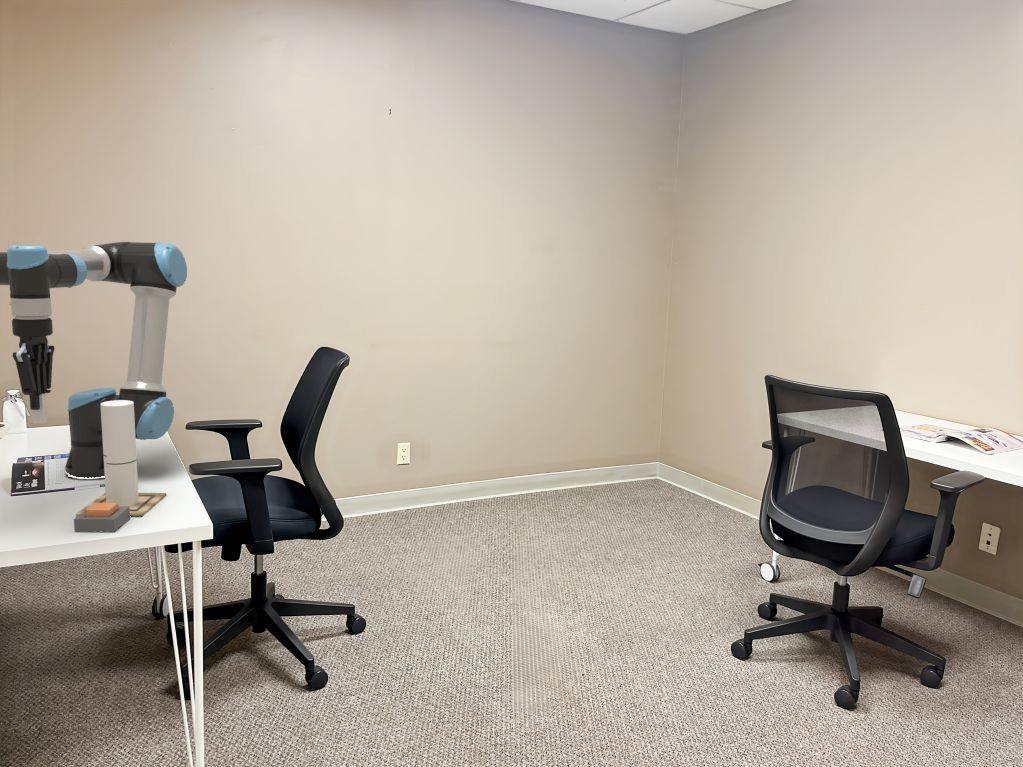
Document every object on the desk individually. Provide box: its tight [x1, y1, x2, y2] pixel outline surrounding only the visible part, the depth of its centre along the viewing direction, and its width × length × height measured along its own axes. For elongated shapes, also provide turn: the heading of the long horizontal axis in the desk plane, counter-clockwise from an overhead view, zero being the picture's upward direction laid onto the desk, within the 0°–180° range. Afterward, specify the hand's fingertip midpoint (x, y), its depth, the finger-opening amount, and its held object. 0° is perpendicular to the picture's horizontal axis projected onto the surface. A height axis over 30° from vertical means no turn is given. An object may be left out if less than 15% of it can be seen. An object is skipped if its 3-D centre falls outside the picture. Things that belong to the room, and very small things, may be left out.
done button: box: [86, 503, 118, 517], centre depth 179 cm, size 5×5×3 cm
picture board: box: [75, 492, 167, 518], centre depth 193 cm, size 16×15×1 cm
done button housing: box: [73, 506, 131, 533], centre depth 179 cm, size 9×9×3 cm
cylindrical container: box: [100, 400, 139, 506], centre depth 190 cm, size 7×7×25 cm
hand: (39, 422), depth 175 cm, fingers closed
